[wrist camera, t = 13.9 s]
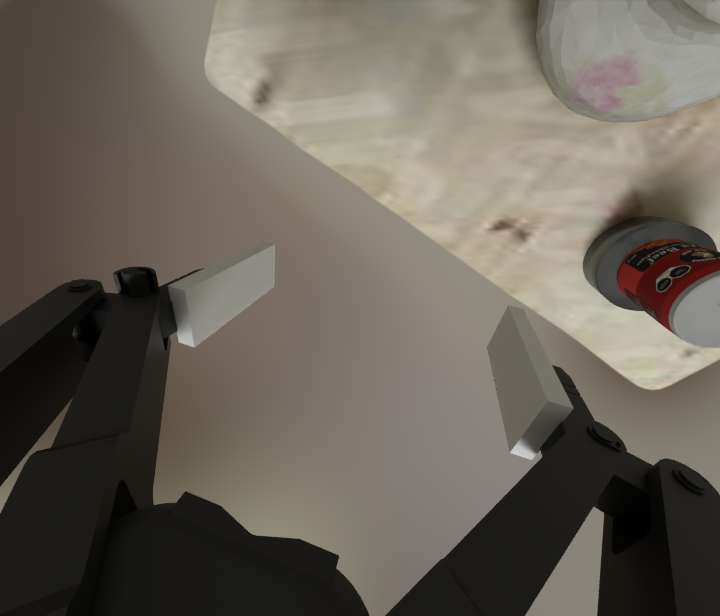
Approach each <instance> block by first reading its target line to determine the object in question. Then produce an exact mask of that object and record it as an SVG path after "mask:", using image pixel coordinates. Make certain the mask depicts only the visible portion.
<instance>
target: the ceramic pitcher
mask: <svg viewBox="0 0 720 616" xmlns="http://www.w3.org/2000/svg"><path fill="white" fill-rule="evenodd" d="M536 47H537V51H538V56H539V61H540V65H541V70H542V74H543V75H544V77H545V79H546V81H547V83H548V85H549V87H550V88H551V90H552V92H553V94H554V95H555V96H556V97H557V98H558V99H559V100H560V101H562V102H563V103H564V104H565V105H566V106H567V107H568V108H569V109H570V110H572V111H574V112H575V113H577V114H580V115H583V116H586V117H589V118H592V119H595V120H599V121H607V122H639V121H646V120H650V119H654V118H658V117H662V116H666V115H670V114H672V113H675V112H678V111H680V110H683V109H686V108H688V107H691V106H694V105H696V104H699V103H702V102H705V101H707V100H710V99H713V98H715V97H717V96H719V95H720V0H539V9H538V18H537V29H536Z"/></svg>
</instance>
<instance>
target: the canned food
mask: <svg viewBox="0 0 720 616" xmlns="http://www.w3.org/2000/svg"><path fill="white" fill-rule="evenodd" d="M617 284H618V287H619V289H620V291H621V292H622V293H623V295H624V296H626V297H627V298H628V299H630V300H631V301H632V302H633V303H635V304H636V305H637V306H639V307H640V308H641V309H642V310H644V311H645V312H646V313H647V314H649V315H650V316H651V317H653V318H654V319H655V320H656V321H658V322H659V323H660V324H662V325H663V326H664V327H665V328H667V329H668V330H669V331H671V332H672V333H674V334H675V335H676V336H678V337H679V338H680V339H682V340H684V341H686V342H687V343H690V344H692V345H695V346H699V347H705V348H720V252H717V251H714V250H711V249H708V248H705V247H703V246H700V245H697V244H694V243H691V242H688V241H685V240H680V239H662V240H656V241H652V242H649V243H646V244H644V245H642V246H640V247H638V248H637V249H635V250H634V251H632V252H631V253H630V254H629V255H628V256H627V257H626V258H625V259H624V260H623V261H622V263H621V265H620V266H619V269H618V272H617Z"/></svg>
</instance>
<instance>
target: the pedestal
mask: <svg viewBox="0 0 720 616" xmlns="http://www.w3.org/2000/svg"><path fill="white" fill-rule="evenodd" d="M662 239H680V240H685V241H688V242H691V243H694V244H697V245H700V246H703V247H705V248H708V249H711V250H714V251H717V248H716V245H715V243H714V241H713V240H712V238H711V237H710V236H709V235H708V234H707V233H705V232H704V231H702V230H700V229H698V228H695V227H692V226H689V225H685V224H681V223H678V222H674V221H671V220H667V219H663V218H659V217H648V216H647V217H637V218H632V219H629V220H625V221H623V222H620V223H618V224H616V225H614V226H612V227H610V228H609V229H607V230H606V231H605V232H603V233H602V234H601V235H600V236H598V237H597V238H596V239H595V241H594V242H593V243H592V244H591V246H590V247H589V249H588V251H587V252H586V255H585V258H584V262H583V271H584V275H585V277H586V279H587V281H588V282H589V283H590V284H591V285H592V286H593V287H594V288H595V289H596V290H597V291H598V292H600V293H601V294H602V295H603V296H604V297H605V298H606V299H608V300H609V301H610V302H611V303H613V304H614V305H616V306H618V307H621V308H624V309H628V310H634V311H644V310H642V309H641V308H640V307H639V306H637V305H636V304H635V303H633V302H632V301H631V300H630V299H628V298H627V297H626V296H624V295H623V293H622V292H621V291H620V289H619V287H618V284H617V272H618V269H619V266H620V265H621V263H622V261H623V260H624V259H625V258H626V257H627V256H628V255H629V254H630V253H631V252H632V251H634V250H635V249H637V248H638V247H640V246H642V245H644V244H646V243H649V242H652V241H656V240H662Z"/></svg>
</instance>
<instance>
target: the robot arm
mask: <svg viewBox="0 0 720 616" xmlns="http://www.w3.org/2000/svg"><path fill="white" fill-rule="evenodd" d="M274 269H275V245H274V244H272V243H268V242H264V241H262V242H260V243H258V244H256V245H254V246H252V247H249V248H247V249H245V250H243V251H241V252H239V253H237V254H234V255H232V256H230V257H228V258H226V259H224V260H222V261H219V262H217V263H215V264H213V265H211V266H209V267H207V268H204V269H199V270H195V271H193V272H191V273H188V274H187V275H184V276H182V277H180V279H175V280H173V281H171V282H169V283H167V284H165V285H162V286H160V287H159V286H158V282H157V277H156V273H155V270H153V269H151V268H148V267H128V268H124V269H121V270H118V271H116V272H115V273H114V274H113V277H114V280H115V284H116V287H117V290H118V294H115V293H105V292H104V289H103V286H102V284H101V282H99V281H96V280H84V279H80V280H73V281H71V282H68V283H64V284H62V285H60V286H58V287H57V288H55V289H54V290H52V291H51V292H50V293H48V294H46V295H45V296H44V297H42V298H41V299H39V300H38V301H36V302H35V303H33V304H32V305H30V306H29V307H27V308H26V309H25V310H23V311H22V312H20V313H19V314H17V315H16V316H14V317H13V318H12V319H10V320H8V321H7V322H6V323H4V324H3V325H1V326H0V486H1V485H2V484H3V483H4V481H5V480H6V479H7V478H8V476H9V475H10V474H11V473H12V471H13V470H14V469H15V468H16V467H17V465H18V464H19V463H20V461H21V460H22V459H23V458H24V457H25V455H26V454H27V453H28V452H29V451H30V449H31V448H32V447H33V446H34V444H35V443H36V442H37V441H38V439H39V438H40V437H41V436H42V434H43V433H44V432H45V431H46V430H47V428H48V427H49V426H50V425H51V423H52V422H53V421H54V420H55V419H56V417H57V416H58V415H59V413H60V412H61V411H62V410H63V409H64V407H65V406H66V405H67V404H68V402H69V401H70V400H71V399H72V398H73V399H72V401H71V404H70V406H69V408H68V411H67V413H66V415H65V418H64V420H63V422H62V424H61V427H60V429H59V431H58V433H57V436H56V438H55V440H54V443H53V445H52V446H51V448H49V449H44V450H40V451H36V452H35V453H34V454H32V455H31V456H30V457H29V459H28V460H27V462H26V463H25V465H24V467H23V469H22V471H21V473H20V475H19V477H18V479H17V481H16V483H15V485H14V487H13V489H12V491H11V493H10V495H9V497H8V499H7V501H6V503H5V505H4V507H3V509H2V511H1V513H0V616H369V613H368V611H367V609H366V607H365V605H364V603H363V601H362V599H361V597H360V596H359V594H358V593H357V591H356V590H355V588H354V586H353V585H352V584H351V583H350V582H349V580H348V579H347V578H346V577H345V576H344V575H343V574H342V573H341V572H340V571H339V570H337V569H336V566H337V562H338V559H339V556H338V555H336V554H334V553H331V552H329V551H327V550H324V549H322V548H320V547H317V546H315V545H312V544H310V543H308V542H305V541H303V540H301V539H293V538H279V537H267V536H256V535H252V534H251V533H249V532H248V531H247V530H246V529H245V528H244V527H243V526H242V525H241V524H240V523H238V522H237V521H236V520H235V519H234V518H233V517H232V516H231V515H230V514H229V513H228V512H227V511H225V510H224V509H223V508H222V507H221V506H219V505H217V504H215V503H212V502H210V501H208V500H205V499H203V498H200V497H198V496H195V495H193V494H191V493H188V492H185V493H184V494H183V495H182V496H181V498H180V499H179V500H178V502H177V503H164V504H158V505H154V504H153V484H154V476H155V467H156V458H157V451H158V443H159V434H160V426H161V419H162V411H163V402H164V394H165V386H166V378H167V370H168V362H169V353H170V345H171V341H170V335H171V334H173V333H175V332H176V331H177V335H178V339H179V342H180V343H183V344H186V345H189V346H192V347H196V346H197V345H198V344H200V343H201V342H202V341H203V340H205V339H206V338H207V337H209V336H210V335H211V334H213V333H214V332H215V331H216V330H218V329H219V328H220V327H222V326H223V325H224V324H226V323H227V322H228V321H230V320H231V319H232V318H234V317H235V316H236V315H238V314H239V313H240V312H242V311H243V310H244V309H245V308H247V307H248V306H249V305H251V304H252V303H253V302H255V301H256V300H257V299H259V298H260V297H261V296H263V295H264V294H265V293H266V292H268V291H269V290H270V289H272V288H273V287H274V272H275V270H274ZM73 333H74V336H73ZM487 349H488V354H489V358H490V363H491V368H492V372H493V377H494V382H495V386H496V391H497V395H498V400H499V405H500V409H501V414H502V419H503V423H504V428H505V432H506V437H507V442H508V447H509V451H510V453H512V454H515V455H518V456H521V457H524V458H527V459H530V460H532V459H533V458H534V457H535V455H536V454H537V453H538V452H539V451H540V450H541V454H542V458H541V459H540V460H539V461H538V462H537V463H536V464H535V465H534V466H533V467H532V468H531V469H530V470H529V471H528V473H527V474H526V475H525V476H524V477H523V478H522V479H521V480H520V481H519V482H518V483H517V484H516V485H515V486H514V487H513V488H512V489H511V490H510V491H509V492H508V493H507V494H506V495H505V496H504V497H503V499H501V500H500V501H499V503H497V504H496V505H495V507H494V508H493V509H492V510H491V511H490V512H489V513H488V514H487V515H486V516H485V517H484V518H483V519H482V520H481V521H480V522H479V523H478V524H477V525H476V526H475V527H474V528H473V529H472V530H471V531H470V532H469V533H468V534H467V535H466V536H465V537H464V538H463V539H462V540H461V542H460V543H458V544H457V546H456V547H455V548H454V549H453V550H452V551H451V552H450V553H449V554H448V555H447V556H446V557H445V558H443V559H441V560H440V561H439V562H438V563H437V564H436V565H435V566H434V567H433V568H432V569H431V570H430V571H429V572H428V573H427V574H426V575H425V576H424V577H423V578H422V579H421V580H420V581H419V582H418V583H417V584H416V585H415V586H414V587H413V588H412V589H411V590H410V591H409V592H408V593H407V594H406V595H405V596H404V597H403V598H402V599H401V600H400V601H399V602H398V604H396V605H395V606H394V607H393V608H392V609H391V610H390V612H389V613H388V614H387V615H386V616H525V615H526V613H527V611H528V610H529V608H530V607H531V605H532V603H533V602H534V600H535V598H536V597H537V596H538V594H539V592H540V591H541V589H542V588H543V586H544V584H545V582H546V581H547V579H548V578H549V576H550V575H551V573H552V572H553V570H554V569H555V567H556V565H557V563H558V562H559V560H560V559H561V557H562V556H563V554H564V553H565V551H566V549H567V548H568V546H569V545H570V543H571V541H572V540H573V538H574V537H575V535H576V533H577V532H578V530H579V529H580V527H581V525H582V524H583V522H584V521H585V519H586V517H587V516H588V514H589V513H590V511H591V510H592V508H593V506H594V507H596V508H597V509H599V510H600V511H602V512H604V526H603V540H602V542H603V543H602V555H601V570H600V584H599V599H598V613H597V616H720V495H719V493H718V492H717V491H716V490H715V488H714V487H713V486H712V485H711V484H710V483H709V482H708V481H707V480H706V479H705V478H704V477H702V476H701V475H700V474H699V473H698V472H696V471H694V470H692V469H691V468H689V467H688V466H686V465H684V464H682V463H679V462H677V461H675V460H671V459H662V460H660V461H659V462H657V463H656V464H655V465H654V466H653V465H651V464H649V463H647V462H645V461H643V460H641V459H640V458H637V457H636V456H634V455H632V454H630V453H628V452H626V450H627V449H626V447H625V445H624V443H623V441H622V440H621V439H620V438H619V437H618V436H617V435H616V434H615V433H614V432H613V431H611V430H610V429H609V428H608V427H606V426H604V425H602V424H600V423H599V422H596V421H595V420H594V418H593V417H592V415H591V413H590V411H589V409H588V408H587V406H586V404H585V402H584V401H583V399H582V397H580V393H579V392H578V390H577V389H576V386H575V385H574V383H573V381H572V379H571V378H570V376H569V375H567V374H566V373H565V372H564V371H563V370H562V369H561V368H559V367H556V366H553V365H551V363H550V361H549V359H548V357H547V355H546V353H545V351H544V349H543V347H542V345H541V343H540V341H539V339H538V337H537V335H536V333H535V331H534V329H533V327H532V325H531V323H530V321H529V319H528V317H527V315H526V313H525V311H524V309H520V308H516V307H512V306H508V307H507V309H506V311H505V313H504V315H503V317H502V319H501V321H500V323H499V325H498V327H497V329H496V331H495V333H494V335H493V337H492V339H491V341H490V343H489V345H488V347H487ZM73 396H74V397H73Z"/></svg>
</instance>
